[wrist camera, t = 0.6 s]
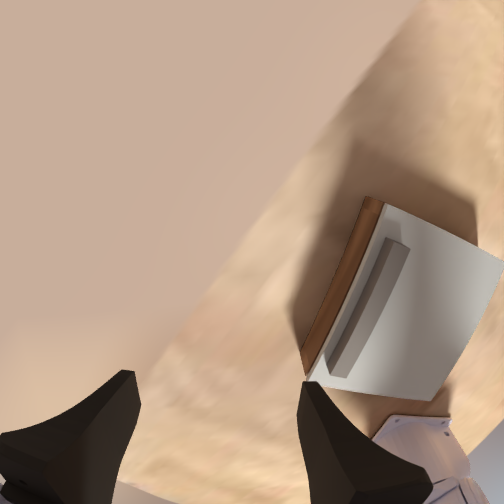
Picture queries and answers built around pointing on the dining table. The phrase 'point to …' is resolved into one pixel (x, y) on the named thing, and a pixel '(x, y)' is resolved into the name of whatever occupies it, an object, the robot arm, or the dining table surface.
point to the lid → (407, 310)
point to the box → (341, 281)
